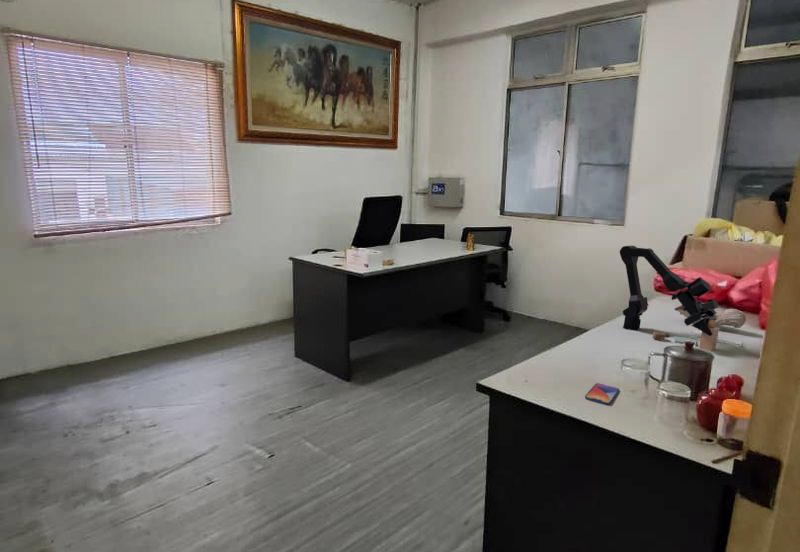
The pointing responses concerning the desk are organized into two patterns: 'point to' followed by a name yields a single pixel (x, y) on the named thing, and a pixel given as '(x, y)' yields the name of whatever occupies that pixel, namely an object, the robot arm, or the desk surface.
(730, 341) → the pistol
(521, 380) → the desk surface
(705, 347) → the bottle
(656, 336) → the walnut block
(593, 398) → the smartphone
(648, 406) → the desk surface
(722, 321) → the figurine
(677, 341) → the mat
